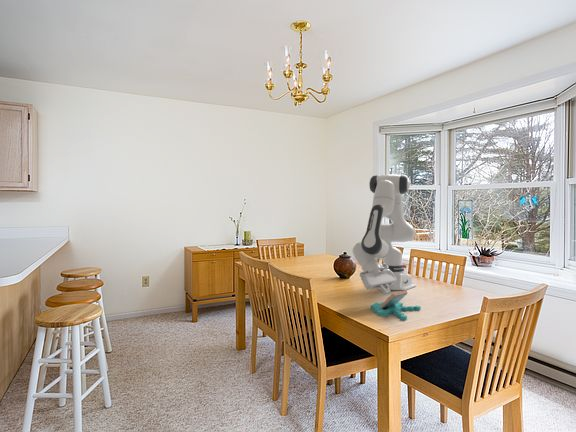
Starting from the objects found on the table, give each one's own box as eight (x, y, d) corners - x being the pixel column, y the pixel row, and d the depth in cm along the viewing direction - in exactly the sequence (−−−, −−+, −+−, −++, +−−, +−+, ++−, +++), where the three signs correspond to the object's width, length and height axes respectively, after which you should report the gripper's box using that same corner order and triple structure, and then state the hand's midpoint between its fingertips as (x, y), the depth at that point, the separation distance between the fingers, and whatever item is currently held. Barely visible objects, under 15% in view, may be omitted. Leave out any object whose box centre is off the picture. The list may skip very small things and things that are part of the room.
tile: (392, 302, 178) (406, 290, 171) (394, 305, 177) (408, 293, 170) (380, 305, 173) (393, 293, 166) (382, 308, 172) (395, 296, 165)
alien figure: (420, 310, 175) (381, 303, 187) (420, 306, 174) (381, 299, 187) (405, 321, 159) (364, 313, 172) (405, 317, 159) (364, 308, 172)
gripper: (361, 269, 175) (376, 293, 167) (389, 264, 186) (405, 286, 179) (355, 276, 179) (369, 300, 171) (383, 271, 190) (397, 293, 183)
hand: (387, 293), depth 175 cm, fingers closed
